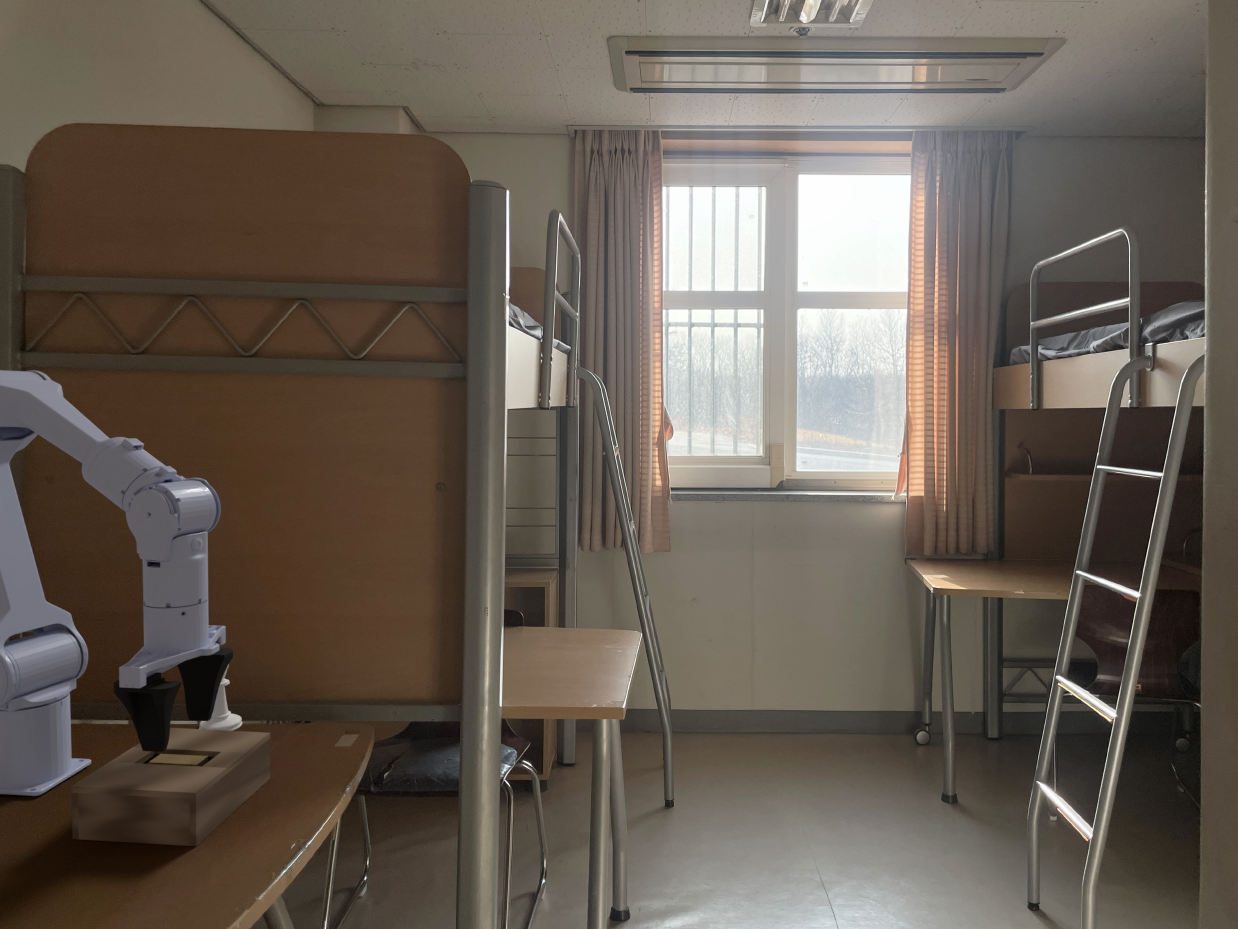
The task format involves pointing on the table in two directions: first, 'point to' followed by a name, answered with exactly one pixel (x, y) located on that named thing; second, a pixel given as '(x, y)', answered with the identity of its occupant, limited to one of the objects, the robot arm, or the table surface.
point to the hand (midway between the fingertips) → (178, 734)
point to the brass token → (180, 760)
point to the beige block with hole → (171, 789)
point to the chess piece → (222, 712)
